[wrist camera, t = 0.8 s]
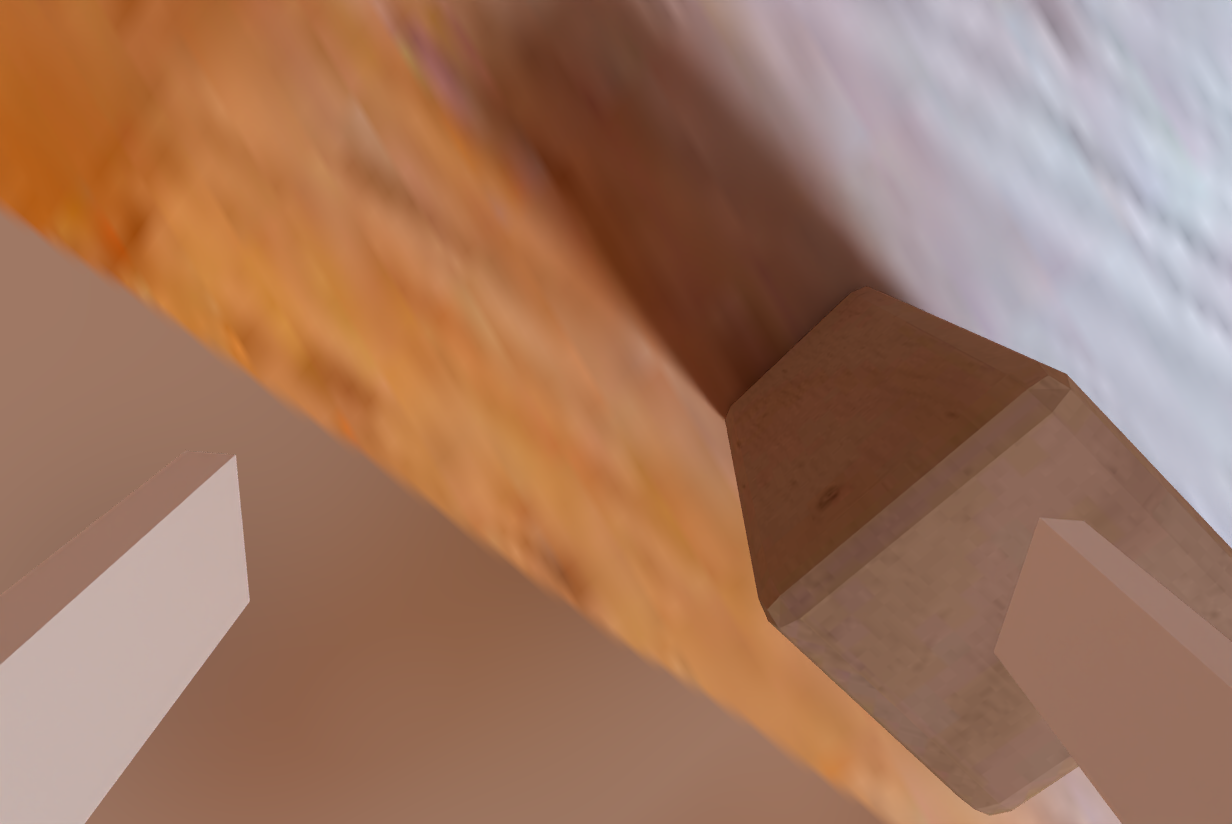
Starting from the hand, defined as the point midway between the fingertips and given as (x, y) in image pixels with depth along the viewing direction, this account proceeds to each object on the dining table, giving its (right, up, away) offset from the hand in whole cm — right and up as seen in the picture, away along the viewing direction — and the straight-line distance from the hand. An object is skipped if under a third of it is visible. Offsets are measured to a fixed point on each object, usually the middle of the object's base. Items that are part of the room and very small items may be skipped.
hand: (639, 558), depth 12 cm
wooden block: (+12, +2, +26) cm, 29 cm away
